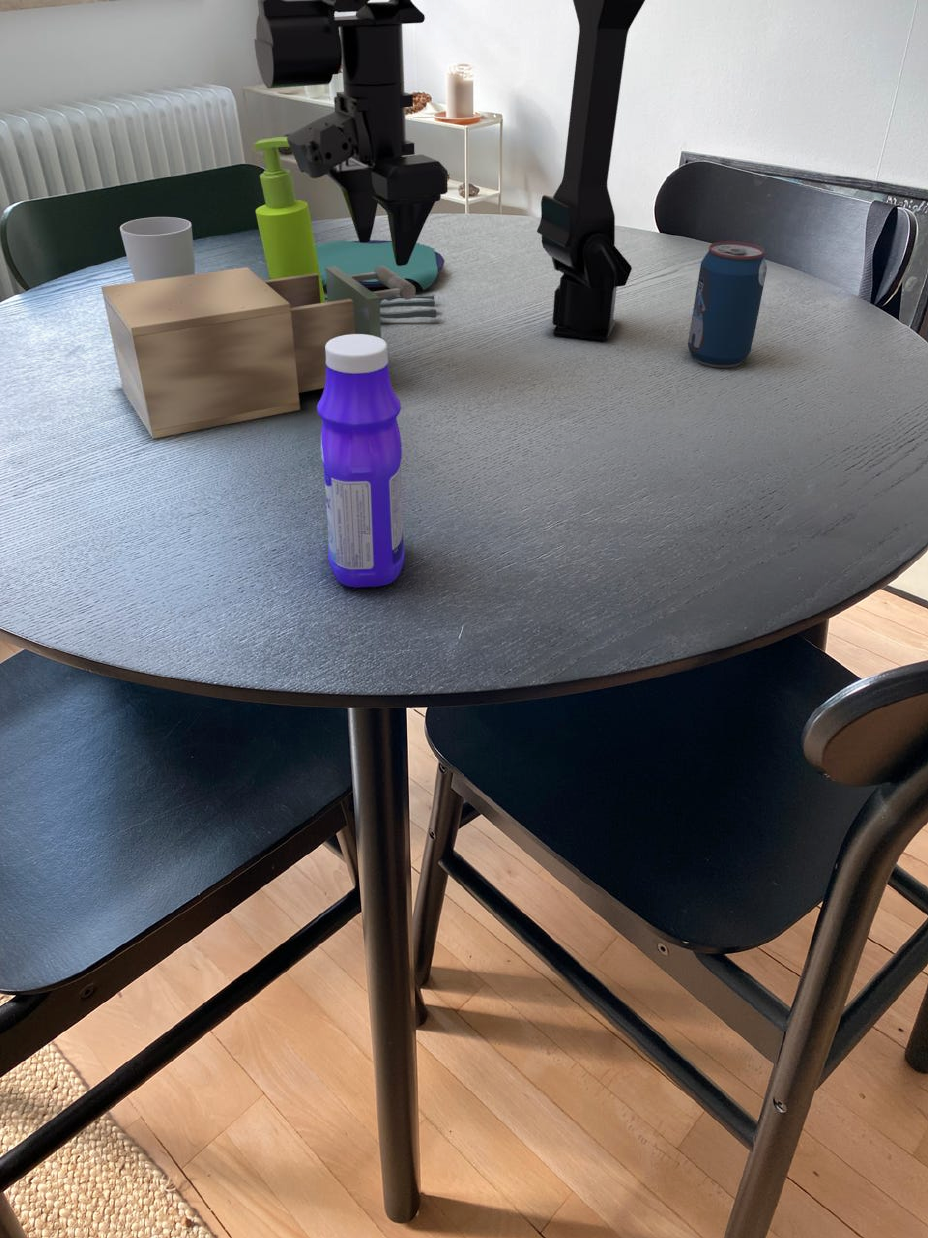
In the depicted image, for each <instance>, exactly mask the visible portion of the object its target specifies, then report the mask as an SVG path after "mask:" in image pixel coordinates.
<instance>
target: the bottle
mask: <svg viewBox="0 0 928 1238" xmlns="http://www.w3.org/2000/svg"><path fill="white" fill-rule="evenodd" d="M325 352H326V381H325V388H323V392H322V394H321V397H320V399H319V400H318V403H317V406H316V411H317V414H318V416H319V417H320V419H321V420H322V423H321V429H320V430H321V431H320V443H319V444H320V458H321V462H322V466H323V477H324V488H325V503H326V519H327V521H326V522H327V535H328V538H327V539H328V548H327V556H328V557H327V558H328V563H329V566H330V569H331V572H332V573H333V576H334V577H335V579H336V580H337V582H339V583H340V584H341V585H343V586H346V587H351V588H375V587H383V586H387V585H390V584H392V583H393V582H395V580H396V579H398V577H399V575H400V574H401V572H402V568H403V565H404V561H405V541H404V523H403V519H404V518H403V494H402V493H403V492H402V457H403V450H402V449H403V448H402V447H403V446H402V438H401V431H400V427H399V423H398V419H397V418H398V416H399V414H400V412H401V410H402V404H401V400H400V398H398V396H397V394H396V393H395V391H394V388H393V386H392V383H391V382H392V381H391V376H390V371H389V359H388V344H387V342H386V341H385V340H384V339H383V338H382V337H381V338H379V337H376V336H372V335H366V334H350V335H343V336H339V337H336V338H333V339H331V340H329V341H328V342H327V343H326V345H325Z"/></svg>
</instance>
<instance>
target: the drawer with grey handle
mask: <svg viewBox="0 0 928 1238" xmlns="http://www.w3.org/2000/svg"><path fill="white" fill-rule="evenodd" d="M325 272H326V285H325V287H326V296H327V300H326V301H328V302H326V301H325V303H321V301H320V288H319V275H318V274H317V273H312V274H305V275H298V276H290V277H283V278H276V279H270V278H269V279H262V280H263V281H264V282H265V283H266V284H267V285H269V286H270V287H271V288H272V289H273V290H274V291H276V292H277V293H278V294H279V295H280V296H281V297H283V298H284V299H285V300H286V301H287V302H288V303H290V309H291V319H292V330H293V340H294V351H295V362H296V372H297V383H298V393H305V392H310V391H316V390H321V389H324V388H325V381H326V352H325V345H326V343H327V342H328V341H329V340H331V339H333V338H336V337H339V336H343V335H350V334H366V335H372V336H376V337H379V338H381V339H382V328H381V325H382V324H381V318H380V312H381V307H380V303H381V302H380V298H386V297H392V296H399V295H400V296H401V297H403V298H402V299H404V300H406V301H410V300H411V299H414V298H413V297H414V296H416V291H417V290H416V287H415V285H414V284H413V283H409V282H408V281H406V280H405V279H403V278H402V277H400V276H399V275H397V274H396V273H394V272H392V271H391V270H389V269H388V268H386V267H385V266H382V265H381V266H378V267H377V268H376V269H375V271H374V272H369V273H362V274H355V275H347V274H346V273H344V272H343V271H342V270H340V269H339V268H337V267H336V266H332V267H326V268H325ZM371 279H376V280H378V281H379V282H381V283H382V284H384V285H385V286H387V288H388V289H383V290H382V289H381V290H376V291H371V290H370V289H368V287H364V286H363V285H361V284H360V283H359V282H358V281H364V280H371Z"/></svg>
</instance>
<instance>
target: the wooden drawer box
mask: <svg viewBox="0 0 928 1238" xmlns="http://www.w3.org/2000/svg"><path fill="white" fill-rule="evenodd" d="M263 280H264V279H262V278H261V277H260V276H259V275H257V274H256V273H255V272H253V271H252V270H251V268H249V267H247V266H245V267H240V268H231V269H223V270H217V271H216V270H215V271H209V272H202V273H195V274H193V275H185V276H178V277H170V278H163V279H155V280H148V281H140V282H135V281H133V282H127V283H119V284H110V285H105V286H101V293H102V295H103V296H102V297H103V302H104V307H105V311H106V316H107V320H108V326H109V331H110V335H111V340H112V344H113V349H114V354H115V359H116V363H117V369H118V373H119V378H120V382H121V388H122V391H123V393H124V394H125V397H126V398H127V400H128V401H129V403H130V404H131V406H132V407H133V409H134V410H135V412H136V414H137V415H138V417H139V419H140V421H141V422H142V424H143V426H144V427H145V428H146V431H147V432H148V433H149V435H150V437H151V438H152V440H156V439H159V438H166V437H170V436H176V435H179V434H186V433H190V432H194V431H200V430H206V429H211V428H215V427H220V426H221V427H222V426H225V425H231V424H236V423H241V422H245V421H251V420H255V419H260V418H265V417H270V416H276V415H281V414H286V413H291V412H296V411H300V410H301V406H300V405H301V403H300V394H299V393H298V383H297V372H296V362H295V351H294V340H293V330H292V319H291V309H290V303H288V302H287V301H286V300H285V299H284V298H283V297H281V296H280V295H279V294H278V293H277V292H276V291H274V290H273V289H272V288H271V287H270V286H269V285H267V284H266V283H265V282H264V281H263Z"/></svg>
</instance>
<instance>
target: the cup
mask: <svg viewBox="0 0 928 1238" xmlns="http://www.w3.org/2000/svg"><path fill="white" fill-rule="evenodd" d="M192 227H193V225H192V222H191V221H190V220H187V219H184V218H180V217H174V216H172V217H171V216H153V217H152V216H151V217H144V218H138V219H132V220H129V221H127V222H124V223H123V224H121V225H120V227H119V230H120V236H121V239H122V242H123V247H124V251H125V254H126V259H127V262H128V266H129V268H130V271H131V274H132V276H133V279H134V282H140V281H148V280H155V279H163V278H170V277H178V276H185V275H193V274H196V272H195V271H196V259H195V247H194V239H193V238H194V237H193V228H192Z"/></svg>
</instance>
